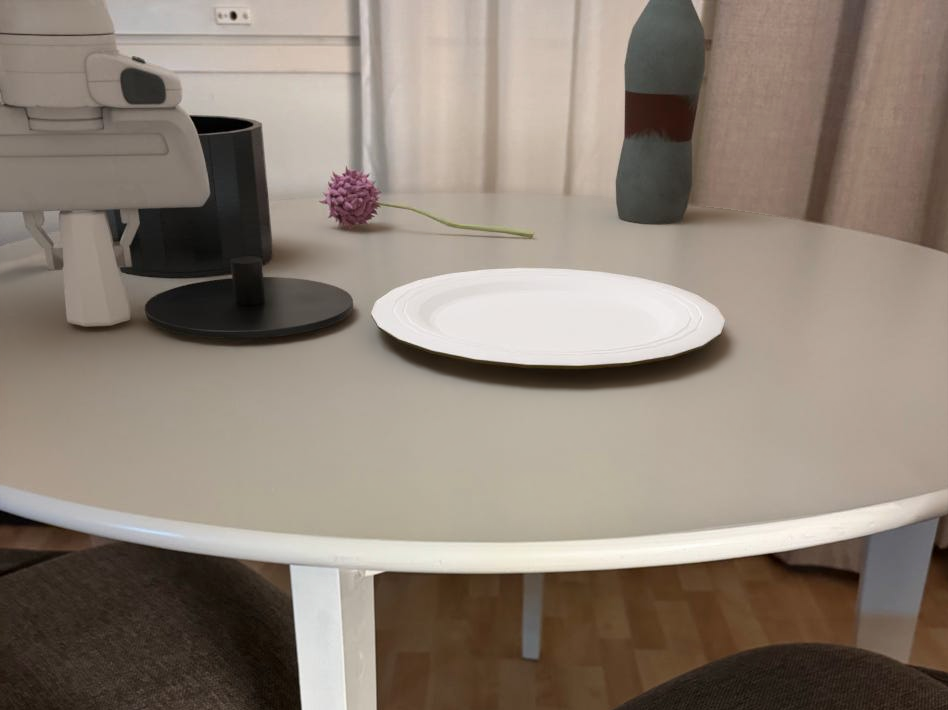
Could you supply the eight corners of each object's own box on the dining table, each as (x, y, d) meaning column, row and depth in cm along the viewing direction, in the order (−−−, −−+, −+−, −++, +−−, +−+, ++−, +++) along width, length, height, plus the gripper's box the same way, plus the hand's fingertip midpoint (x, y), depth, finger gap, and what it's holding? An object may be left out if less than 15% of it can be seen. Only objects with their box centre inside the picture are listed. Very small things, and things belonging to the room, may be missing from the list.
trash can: (72, 264, 107) (47, 127, 100) (185, 234, 119) (169, 111, 113) (199, 285, 100) (181, 141, 94) (305, 252, 113) (295, 122, 106)
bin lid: (101, 325, 89) (91, 267, 86) (237, 281, 102) (231, 229, 100) (269, 359, 82) (263, 296, 79) (392, 306, 95) (390, 252, 93)
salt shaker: (115, 329, 87) (92, 184, 81) (53, 324, 87) (26, 180, 81) (143, 311, 91) (123, 173, 85) (84, 307, 92) (60, 169, 86)
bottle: (654, 228, 126) (684, -78, 110) (597, 216, 131) (617, -76, 115) (703, 218, 131) (738, -75, 115) (646, 207, 137) (671, -73, 121)
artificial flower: (533, 254, 125) (328, 211, 127) (543, 194, 121) (330, 151, 122) (524, 277, 120) (311, 232, 122) (534, 216, 116) (312, 170, 117)
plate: (620, 277, 105) (621, 257, 104) (795, 365, 82) (799, 340, 81) (332, 301, 96) (331, 280, 95) (439, 407, 73) (439, 380, 72)
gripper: (-99, 80, 74) (-51, 282, 82) (200, 81, 80) (219, 271, 87) (-86, 73, 80) (-42, 263, 87) (194, 73, 85) (213, 254, 92)
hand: (91, 267), depth 87 cm, fingers closed on salt shaker, 4 cm apart
